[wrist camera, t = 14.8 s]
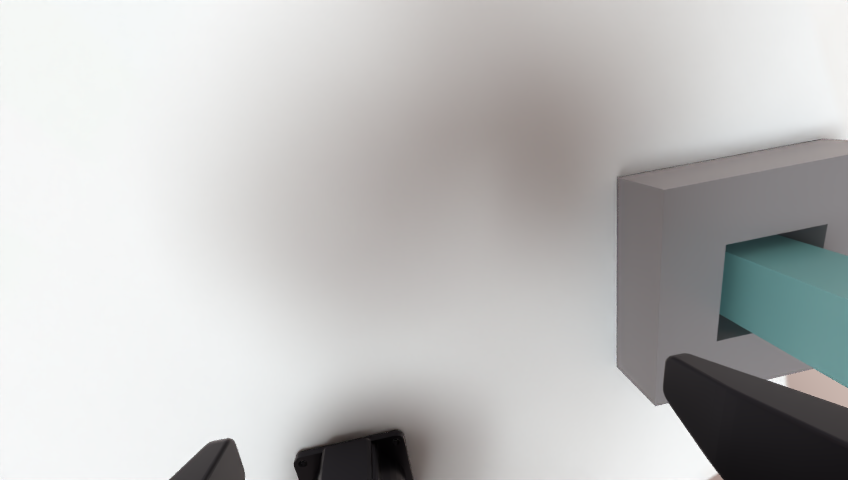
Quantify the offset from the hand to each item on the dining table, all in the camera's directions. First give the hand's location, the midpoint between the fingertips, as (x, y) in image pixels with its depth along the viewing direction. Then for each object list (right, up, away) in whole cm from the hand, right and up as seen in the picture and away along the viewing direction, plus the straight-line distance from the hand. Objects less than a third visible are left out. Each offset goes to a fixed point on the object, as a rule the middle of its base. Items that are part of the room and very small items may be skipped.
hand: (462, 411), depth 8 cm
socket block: (+16, +2, +15) cm, 22 cm away
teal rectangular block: (+16, +2, +14) cm, 22 cm away
